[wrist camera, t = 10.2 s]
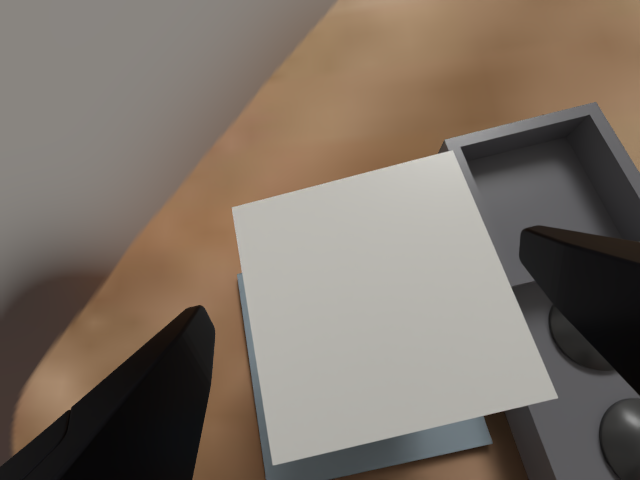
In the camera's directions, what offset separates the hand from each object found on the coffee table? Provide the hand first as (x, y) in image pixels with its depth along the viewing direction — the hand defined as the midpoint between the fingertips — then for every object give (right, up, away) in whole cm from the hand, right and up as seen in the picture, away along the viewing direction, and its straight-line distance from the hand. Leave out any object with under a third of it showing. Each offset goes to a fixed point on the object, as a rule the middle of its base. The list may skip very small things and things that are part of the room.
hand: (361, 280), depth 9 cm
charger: (+1, -3, +6) cm, 7 cm away
